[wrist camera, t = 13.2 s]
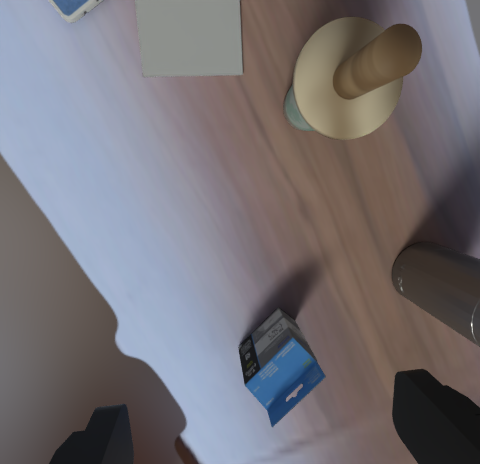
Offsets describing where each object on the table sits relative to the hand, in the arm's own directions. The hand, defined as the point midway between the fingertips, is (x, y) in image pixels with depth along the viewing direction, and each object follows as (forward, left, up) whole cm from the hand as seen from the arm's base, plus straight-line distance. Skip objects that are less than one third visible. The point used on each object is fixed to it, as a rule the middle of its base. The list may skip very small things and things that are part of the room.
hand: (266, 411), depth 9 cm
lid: (-12, -14, -21) cm, 28 cm away
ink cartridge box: (-6, +18, -33) cm, 38 cm away
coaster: (+2, -24, -33) cm, 41 cm away
